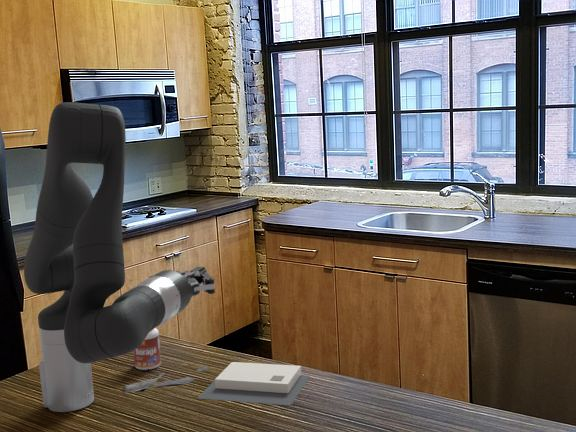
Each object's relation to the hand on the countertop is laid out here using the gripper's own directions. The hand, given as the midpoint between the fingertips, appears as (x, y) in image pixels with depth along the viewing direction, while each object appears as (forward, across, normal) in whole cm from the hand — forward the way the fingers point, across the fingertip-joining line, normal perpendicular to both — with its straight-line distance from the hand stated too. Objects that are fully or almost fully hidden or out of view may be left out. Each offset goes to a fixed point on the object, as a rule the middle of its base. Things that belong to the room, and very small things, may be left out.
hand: (201, 272), depth 125 cm
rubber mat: (+14, -4, +29) cm, 32 cm away
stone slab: (+15, +17, +30) cm, 38 cm away
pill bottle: (+23, +26, +30) cm, 45 cm away
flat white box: (+11, -4, +27) cm, 30 cm away
